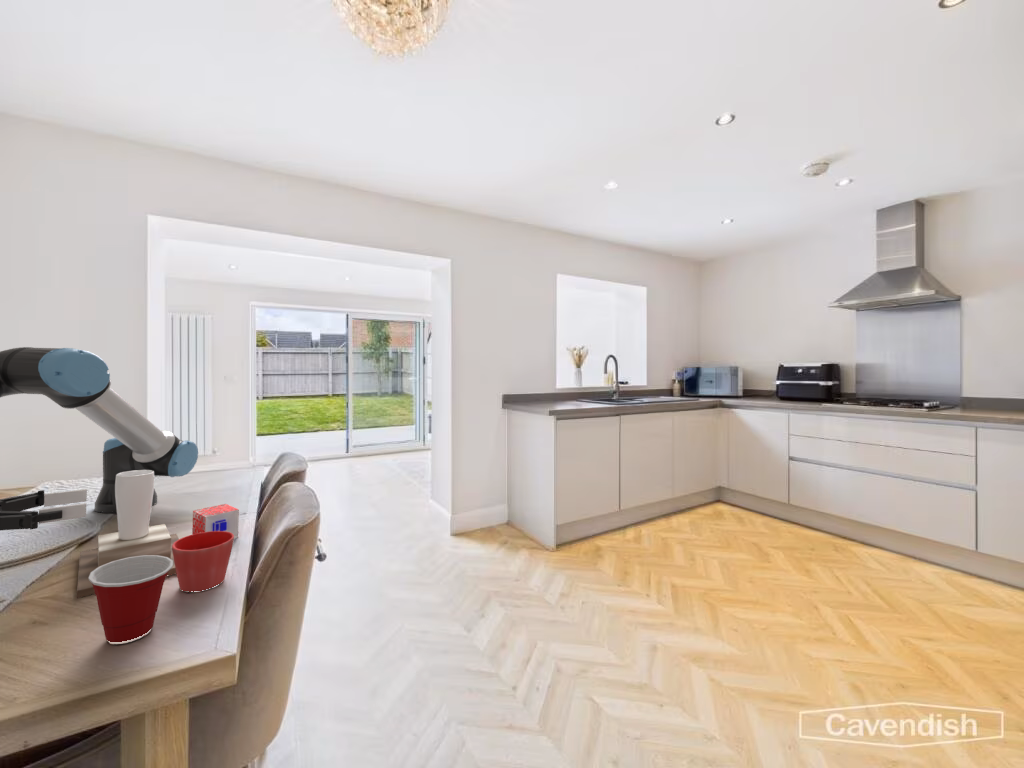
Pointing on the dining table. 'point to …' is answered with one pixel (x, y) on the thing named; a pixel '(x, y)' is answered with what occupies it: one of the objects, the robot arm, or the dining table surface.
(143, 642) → the dining table surface
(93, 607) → the dining table surface
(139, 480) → the drinking glass
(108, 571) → the plastic cup
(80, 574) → the display stand
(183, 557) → the flower pot
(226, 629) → the dining table surface
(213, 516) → the red patterned cube
